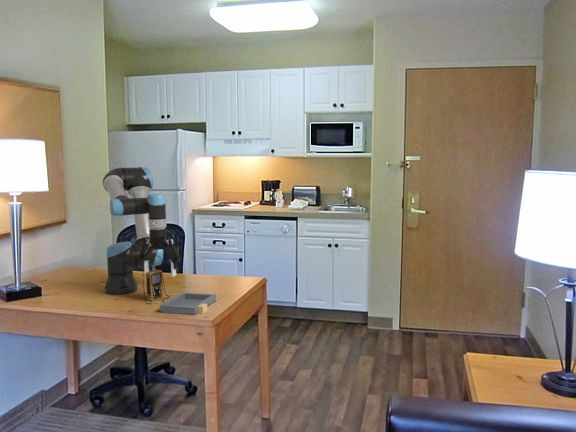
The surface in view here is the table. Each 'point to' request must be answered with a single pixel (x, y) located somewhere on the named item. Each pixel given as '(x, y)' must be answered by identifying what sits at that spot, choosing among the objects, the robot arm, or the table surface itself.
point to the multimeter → (154, 284)
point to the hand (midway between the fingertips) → (160, 275)
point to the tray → (188, 303)
